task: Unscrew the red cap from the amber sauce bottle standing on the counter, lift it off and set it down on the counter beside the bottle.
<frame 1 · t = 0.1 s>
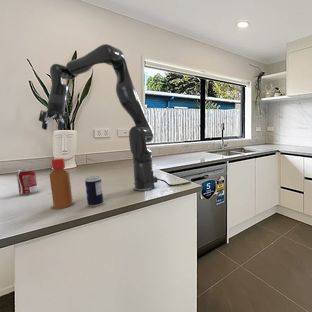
hand: (52, 129, 126), 31 cm above the worktop, tool tilted 20°, fingers open, 8 cm apart
beverage can: (95, 205, 95), on the worktop
red food package: (29, 193, 110), on the worktop
cap: (57, 160, 91), point 20 cm above the worktop, screwed on, not yet turned
sauce bottle: (63, 205, 94), on the worktop
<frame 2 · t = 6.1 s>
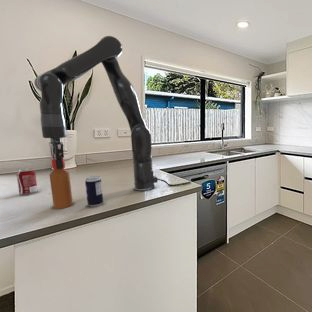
hand: (58, 167, 91), 16 cm above the worktop, tool pointing down, fingers closed on cap, 4 cm apart
cap: (57, 160, 91), point 20 cm above the worktop, screwed on, not yet turned, touching gripper
everything else where it was.
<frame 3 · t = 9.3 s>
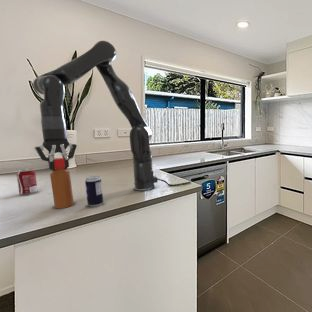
hand: (59, 169, 91), 16 cm above the worktop, tool pointing down, fingers closed on cap, 3 cm apart
cap: (58, 159, 91), point 20 cm above the worktop, turned 95° so far, risen 0.1 cm, still on its thread, touching gripper
sauce bottle: (64, 205, 94), on the worktop
everything else where it was.
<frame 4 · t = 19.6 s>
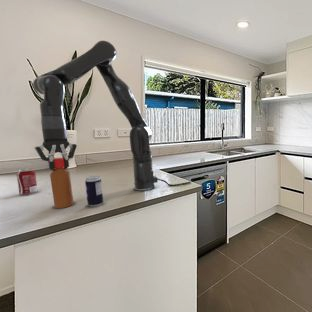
hand: (59, 169, 91), 16 cm above the worktop, tool pointing down, fingers closed on cap, 3 cm apart
cap: (58, 159, 91), point 20 cm above the worktop, turned 191° so far, risen 0.2 cm, still on its thread, touching gripper
everything else where it was.
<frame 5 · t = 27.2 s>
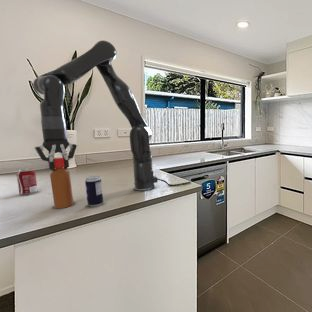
hand: (59, 169, 91), 16 cm above the worktop, tool pointing down, fingers closed on cap, 3 cm apart
cap: (58, 159, 91), point 20 cm above the worktop, turned 284° so far, risen 0.3 cm, still on its thread, touching gripper
everything else where it was.
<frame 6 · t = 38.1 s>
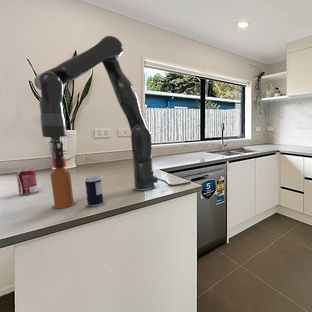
hand: (58, 166, 91), 17 cm above the worktop, tool pointing down, fingers closed on cap, 4 cm apart
cap: (58, 159, 91), point 20 cm above the worktop, turned 380° so far, risen 0.4 cm, still on its thread, touching gripper
sauce bottle: (64, 205, 94), on the worktop
everything else where it was.
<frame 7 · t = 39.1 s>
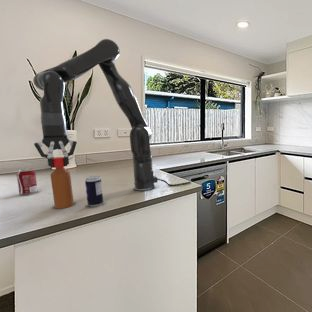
hand: (59, 166, 91), 17 cm above the worktop, tool pointing down, fingers closed on cap, 4 cm apart
cap: (58, 158, 90), point 20 cm above the worktop, off its thread, touching gripper
everything else where it was.
when the fingers open (0 cm above the worktop, at t = 50.1 s): cap stays where it is, point 3 cm above the worktop.
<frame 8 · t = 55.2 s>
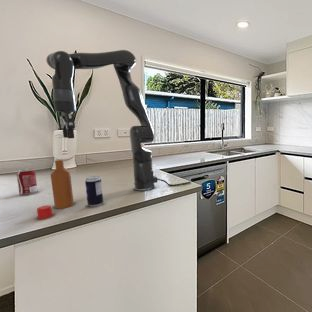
hand: (68, 137, 99), 28 cm above the worktop, tool pointing down, fingers open, 8 cm apart
cap: (44, 208, 82), point 3 cm above the worktop, off its thread
everything else where it was.
at the end: cap came off its thread; cap point 3.3 cm above the worktop; the gripper is holding nothing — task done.
